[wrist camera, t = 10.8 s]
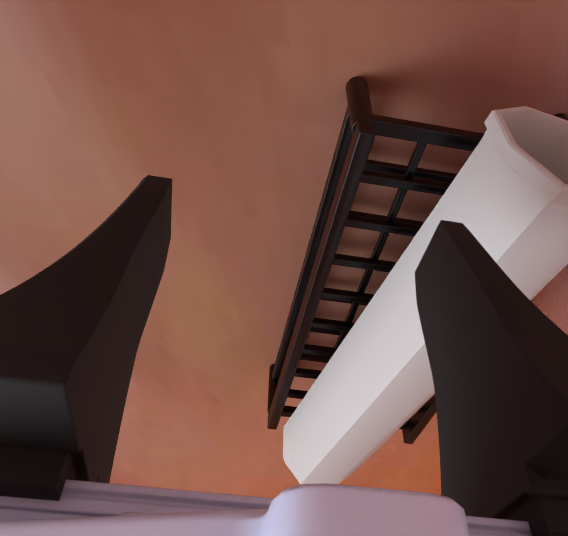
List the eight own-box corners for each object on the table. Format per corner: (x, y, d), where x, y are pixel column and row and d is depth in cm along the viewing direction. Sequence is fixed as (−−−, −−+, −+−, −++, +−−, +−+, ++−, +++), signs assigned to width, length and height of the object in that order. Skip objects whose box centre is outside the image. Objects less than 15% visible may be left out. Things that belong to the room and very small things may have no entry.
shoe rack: (572, 114, 23) (615, 175, 20) (404, 386, 38) (414, 444, 35) (348, 74, 22) (356, 131, 19) (268, 370, 37) (265, 428, 34)
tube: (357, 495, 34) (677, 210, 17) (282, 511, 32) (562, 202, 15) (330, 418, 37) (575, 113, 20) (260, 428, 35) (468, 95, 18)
